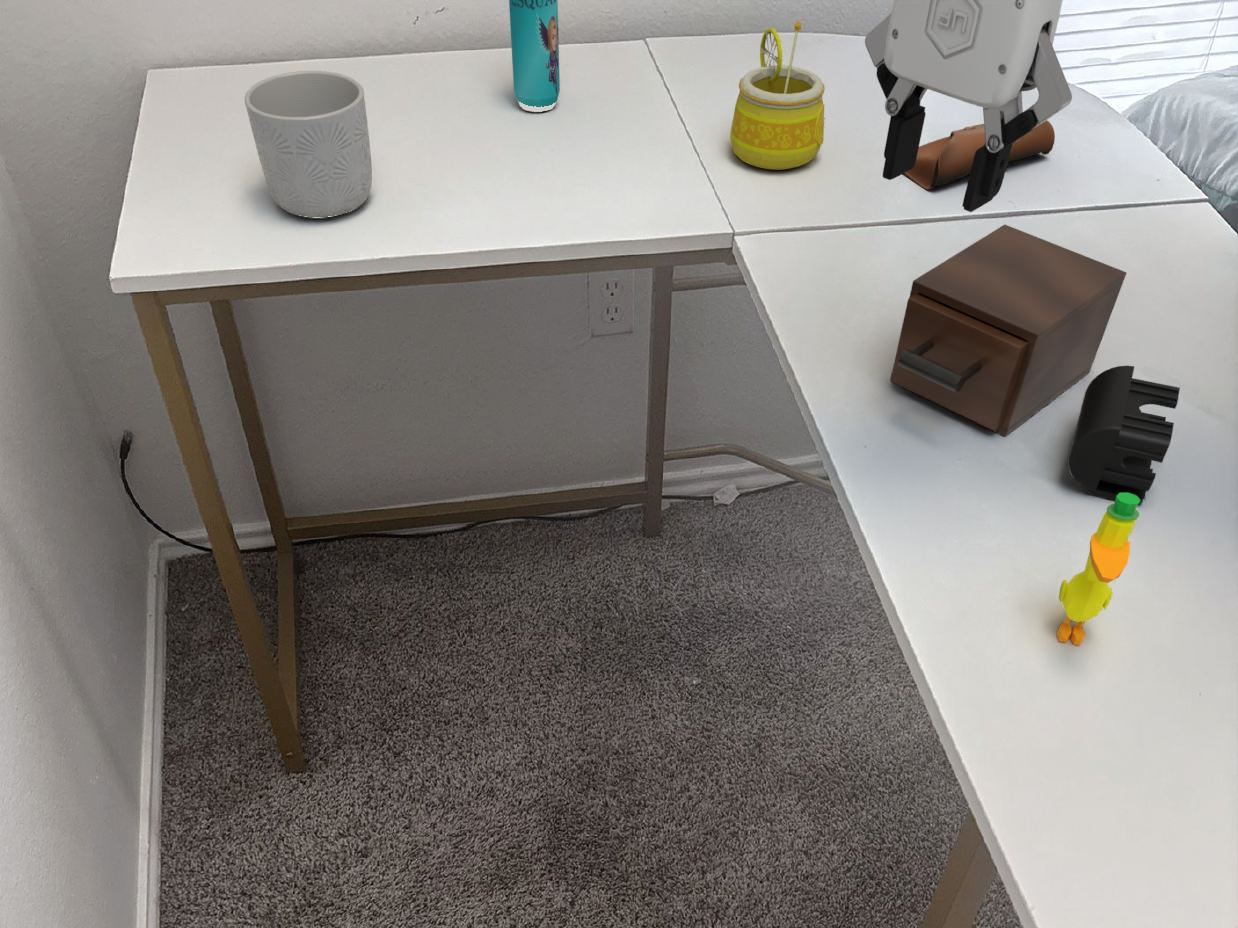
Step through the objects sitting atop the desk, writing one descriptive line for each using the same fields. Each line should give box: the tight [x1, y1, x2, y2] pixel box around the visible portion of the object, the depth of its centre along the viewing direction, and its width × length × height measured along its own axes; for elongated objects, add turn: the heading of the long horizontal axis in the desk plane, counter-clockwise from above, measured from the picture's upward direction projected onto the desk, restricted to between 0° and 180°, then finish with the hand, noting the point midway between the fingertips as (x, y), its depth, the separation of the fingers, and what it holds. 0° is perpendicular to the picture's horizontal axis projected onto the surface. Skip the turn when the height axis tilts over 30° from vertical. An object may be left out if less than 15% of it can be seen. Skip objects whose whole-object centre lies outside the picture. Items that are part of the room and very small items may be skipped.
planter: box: [244, 70, 373, 217], centre depth 124 cm, size 12×12×11 cm
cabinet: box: [890, 224, 1127, 437], centre depth 104 cm, size 15×13×10 cm
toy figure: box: [1056, 493, 1141, 646], centre depth 82 cm, size 7×4×12 cm, turn 164°
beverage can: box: [508, 0, 561, 107], centre depth 138 cm, size 6×6×15 cm
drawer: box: [889, 294, 1028, 432], centre depth 102 cm, size 18×11×8 cm, turn 135°
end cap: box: [1067, 365, 1181, 506], centre depth 97 cm, size 10×7×7 cm
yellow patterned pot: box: [729, 21, 826, 171], centre depth 132 cm, size 13×11×12 cm
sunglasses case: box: [902, 119, 1056, 191], centre depth 133 cm, size 18×7×7 cm, turn 121°
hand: (937, 186), depth 82 cm, fingers open, 6 cm apart
